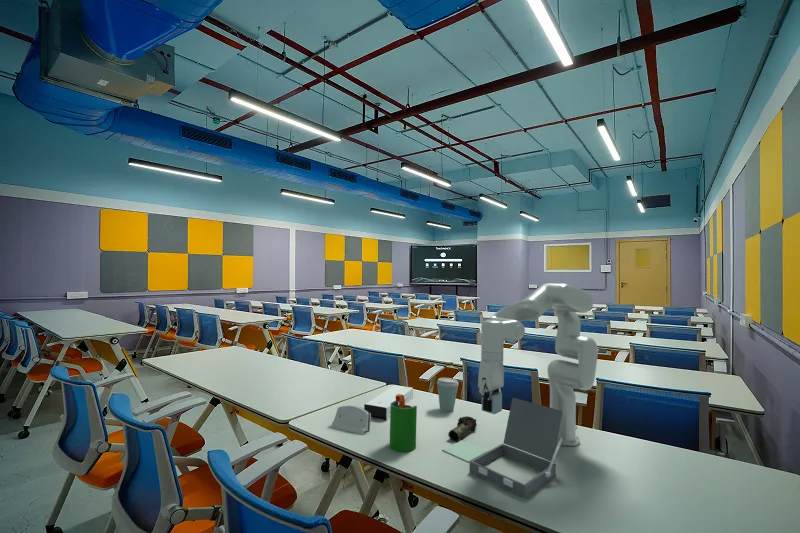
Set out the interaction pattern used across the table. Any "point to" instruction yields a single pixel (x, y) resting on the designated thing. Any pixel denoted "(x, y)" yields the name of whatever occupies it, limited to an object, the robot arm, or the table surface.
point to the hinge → (352, 419)
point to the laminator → (387, 401)
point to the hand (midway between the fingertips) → (491, 408)
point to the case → (520, 456)
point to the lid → (533, 428)
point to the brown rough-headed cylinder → (462, 428)
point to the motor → (402, 425)
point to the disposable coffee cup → (447, 393)
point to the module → (495, 402)
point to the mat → (464, 451)
